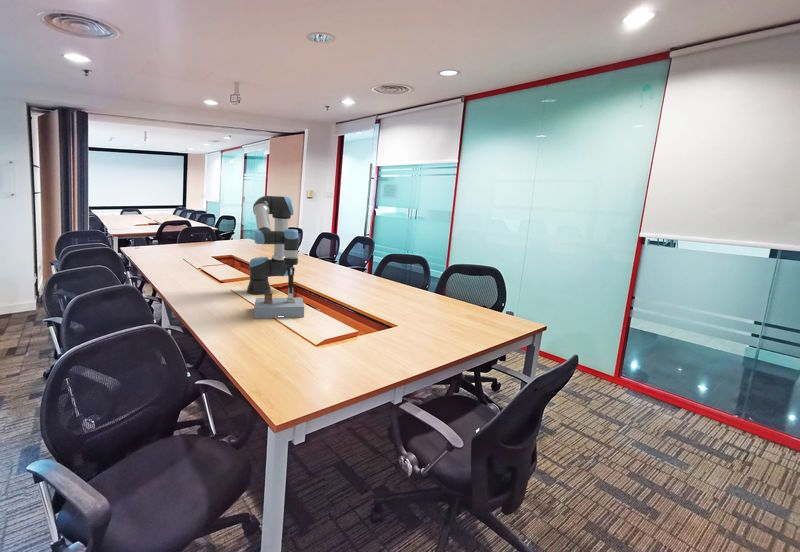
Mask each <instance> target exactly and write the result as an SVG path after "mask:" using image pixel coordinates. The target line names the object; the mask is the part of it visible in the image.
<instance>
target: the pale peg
mask: <svg viewBox="0 0 800 552" xmlns="http://www.w3.org/2000/svg"><path fill="white" fill-rule="evenodd" d="M286 298H287V303H294V298H295V297H293V299H288V297H286Z"/></svg>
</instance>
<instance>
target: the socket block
mask: <svg viewBox="0 0 800 552" xmlns="http://www.w3.org/2000/svg"><path fill="white" fill-rule="evenodd" d="M287 298H288V297H272V304H265V303H264V297H256V298H255V302H254V307H253V319H276V318H275V317H278V316H284V317H289V318H290V319H291V318H304V317H305V305H304V298H303V297H302V296H301V297H293V298H294V303H287ZM289 318H288V319H289Z"/></svg>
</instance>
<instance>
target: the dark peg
mask: <svg viewBox="0 0 800 552" xmlns="http://www.w3.org/2000/svg"><path fill="white" fill-rule="evenodd" d="M263 295H264V297H263V298H264V303H265V304H272V298H273V292H270V293H265V294H263Z"/></svg>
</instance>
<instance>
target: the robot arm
mask: <svg viewBox="0 0 800 552" xmlns="http://www.w3.org/2000/svg"><path fill="white" fill-rule="evenodd" d="M294 211H295V210H294V203H293V200H292V198H291V197H290V196H289V197H288V196H281V195H279V196H278V195H277V196H276V195H263V196H261V197H259V198H258V199H257V200H256V201H254V204H253V206H252V212H253V214H254V215H255V224H256V230H255V231H254V243H255V244H256V245H273V254H272V256H271V258H269V257H268V256H258V257H253V258H251V259H250V260H249V265H248V267H249V283H248V284H247V288H246V292H247V293H248V294H252V295H264V294H265V293H272V287H271V285H270V282H269V277H288V281H287V282H288V284H287V286H286V287H287V298H288V299H293V298H294V287H295V284H294V276H295V271H296V270H295V269H296V268H295V266H297V265H298V264H299V258H298V257H299V231H298V229H295V228H294V229H293V228H292V229H291V228H289V221H290V219H291V217H292V216H293V215H294ZM269 215H271V216H272V218H273V220H274V230H272V228H271V227H272V226H271V222H270V216H269Z"/></svg>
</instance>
